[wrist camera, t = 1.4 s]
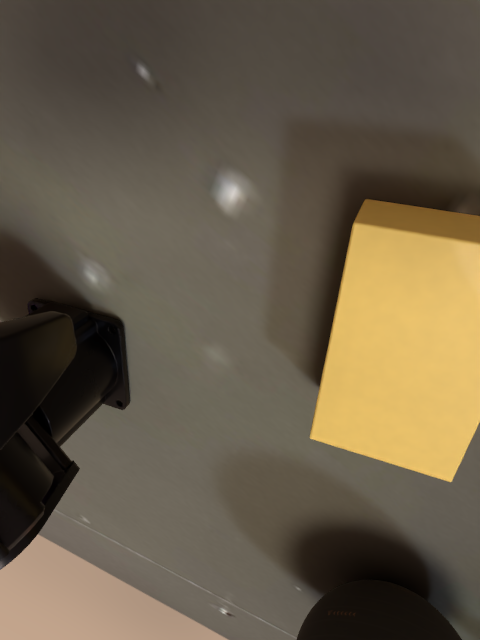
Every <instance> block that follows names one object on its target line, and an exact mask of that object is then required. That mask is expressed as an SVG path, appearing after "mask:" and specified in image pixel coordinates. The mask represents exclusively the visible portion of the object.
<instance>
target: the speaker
mask: <svg viewBox="0 0 480 640" xmlns="http://www.w3.org/2000/svg"><path fill="white" fill-rule="evenodd" d="M297 640H462V639H461V638H460V636H459V635H458V633H457V632H456V631H455V629H454V628H453V627H452V625H451V624H450V623H449V622H448V621H447V619H446V618H445V617H444V616H443V615H442V614H441V613H440V612H439V611H438V610H437V609H436V608H435V607H434V606H432V605H431V604H430V603H429V602H427V601H426V600H425V599H423V598H422V597H420V596H419V595H417V594H416V593H414V592H412V591H410V590H408V589H406V588H404V587H402V586H399V585H397V584H394V583H390V582H386V581H380V580H358V581H353V582H349V583H346V584H343V585H341V586H339V587H337V588H335V589H333V590H331V591H330V592H329V593H327V594H326V595H325V596H323V597H322V598H321V599H320V600H319V601H318V602H317V603H316V604H315V606H314V607H313V608H312V609H311V611H310V612H309V614H308V615H307V617H306V619H305V620H304V622H303V624H302V627H301V629H300V631H299V634H298V637H297Z"/></svg>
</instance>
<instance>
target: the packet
mask: <svg viewBox="0 0 480 640" xmlns="http://www.w3.org/2000/svg"><path fill="white" fill-rule="evenodd" d="M479 422H480V216H476V215H469V214H463V213H456V212H449V211H443V210H436V209H430V208H423V207H417V206H410V205H403V204H397V203H390V202H384V201H377V200H370V199H365V200H364V202H363V204H362V206H361V208H360V210H359V212H358V214H357V216H356V218H355V220H354V223H353V226H352V231H351V235H350V240H349V245H348V250H347V255H346V260H345V265H344V270H343V275H342V280H341V285H340V290H339V295H338V300H337V304H336V309H335V314H334V319H333V324H332V329H331V334H330V339H329V344H328V349H327V354H326V359H325V364H324V368H323V373H322V378H321V383H320V388H319V393H318V398H317V403H316V408H315V413H314V418H313V423H312V428H311V432H310V438H311V439H313V440H316V441H320V442H323V443H326V444H329V445H333V446H336V447H339V448H342V449H345V450H349V451H352V452H355V453H358V454H362V455H365V456H368V457H371V458H374V459H378V460H381V461H384V462H387V463H391V464H394V465H397V466H400V467H403V468H407V469H410V470H413V471H416V472H420V473H423V474H426V475H429V476H433V477H436V478H439V479H442V480H445V481H449V482H451V481H452V480H453V478H454V476H455V473H456V471H457V469H458V467H459V465H460V463H461V461H462V458H463V456H464V454H465V452H466V450H467V448H468V446H469V443H470V441H471V439H472V437H473V435H474V433H475V431H476V429H477V426H478V424H479Z"/></svg>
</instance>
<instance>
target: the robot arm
mask: <svg viewBox="0 0 480 640" xmlns="http://www.w3.org/2000/svg"><path fill="white" fill-rule="evenodd" d="M28 310H29V314H28V315H27V316H25V317H22V318H18V319H13V320H9V321H4V322H0V570H1V569H2V568H3V567H4V566H6V565H7V564H8V563H9V562H11V561H12V560H13V559H14V558H16V557H17V556H18V555H19V554H20V553H21V552H22V551H23V550H24V549H25V548H26V547H27V546H28V545H29V544H30V543H31V542H32V540H33V539H34V538H35V537H36V536H37V534H38V533H39V532H40V530H41V529H42V527H43V526H44V524H45V523H46V521H47V520H48V518H49V516H50V515H51V513H52V512H53V510H54V509H55V507H56V505H57V504H58V502H59V501H60V499H61V498H62V496H63V494H64V493H65V491H66V490H67V488H68V487H69V485H70V483H71V482H72V480H73V479H74V477H75V476H76V474H77V472H78V471H79V469H80V468H79V467H78V466H77V464H76V463H75V462H74V461H71V460H70V459H69V457H68V456H67V455H66V454H65V453H64V451H63V450H62V449H61V448H60V446H61V445H62V444H63V443H64V442H65V441H66V440H67V439H68V438H69V437H70V436H71V435H72V434H73V433H74V432H75V431H76V430H77V429H78V428H79V427H80V426H81V425H82V424H83V423H84V422H85V421H86V420H87V419H88V418H89V417H90V416H91V415H92V414H93V413H94V412H95V411H96V410H97V409H98V408H99V407H100V406H101V405H102V404H106V405H109V406H112V407H115V408H118V409H121V410H123V409H125V408H126V407H127V406H128V405H129V403H130V399H129V387H128V375H127V363H126V351H125V339H124V328H123V325H122V324H121V322H119V321H118V320H116V319H113V318H109V317H105V316H102V315H98V314H94V313H90V312H87V311H84V310H81V309H77V308H74V307H70V306H66V305H62V304H59V303H55V302H49V301H45V300H42V299H38V298H35V299H33V300H32V301H30V302H28ZM113 327H114V328H115V329H114V328H113Z"/></svg>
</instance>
